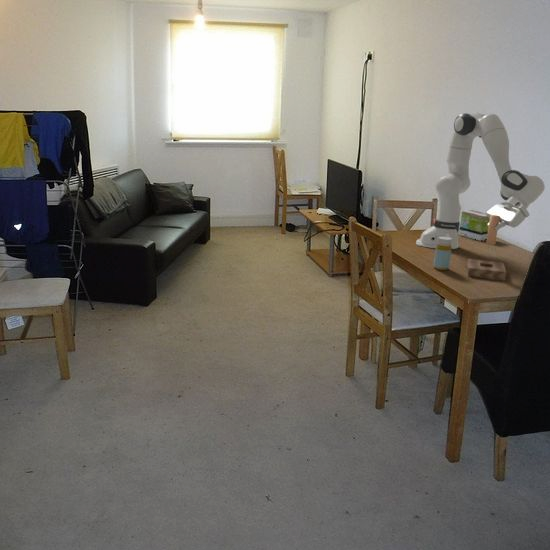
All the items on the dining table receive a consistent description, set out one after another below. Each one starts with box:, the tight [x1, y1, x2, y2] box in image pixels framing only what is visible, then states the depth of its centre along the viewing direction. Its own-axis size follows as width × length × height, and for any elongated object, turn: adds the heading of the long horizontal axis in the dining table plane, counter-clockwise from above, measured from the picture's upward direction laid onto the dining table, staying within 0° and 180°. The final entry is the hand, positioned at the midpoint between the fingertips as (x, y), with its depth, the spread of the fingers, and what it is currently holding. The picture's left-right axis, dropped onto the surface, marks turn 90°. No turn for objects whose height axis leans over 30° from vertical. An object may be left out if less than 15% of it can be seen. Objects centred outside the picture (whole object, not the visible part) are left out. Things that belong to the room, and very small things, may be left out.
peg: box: [485, 215, 500, 246], centre depth 255 cm, size 4×4×13 cm
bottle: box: [432, 236, 452, 271], centre depth 263 cm, size 7×7×15 cm
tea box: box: [458, 209, 490, 242], centre depth 326 cm, size 15×10×15 cm
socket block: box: [466, 258, 507, 281], centre depth 261 cm, size 16×16×4 cm
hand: (491, 227), depth 254 cm, fingers closed on peg, 4 cm apart
